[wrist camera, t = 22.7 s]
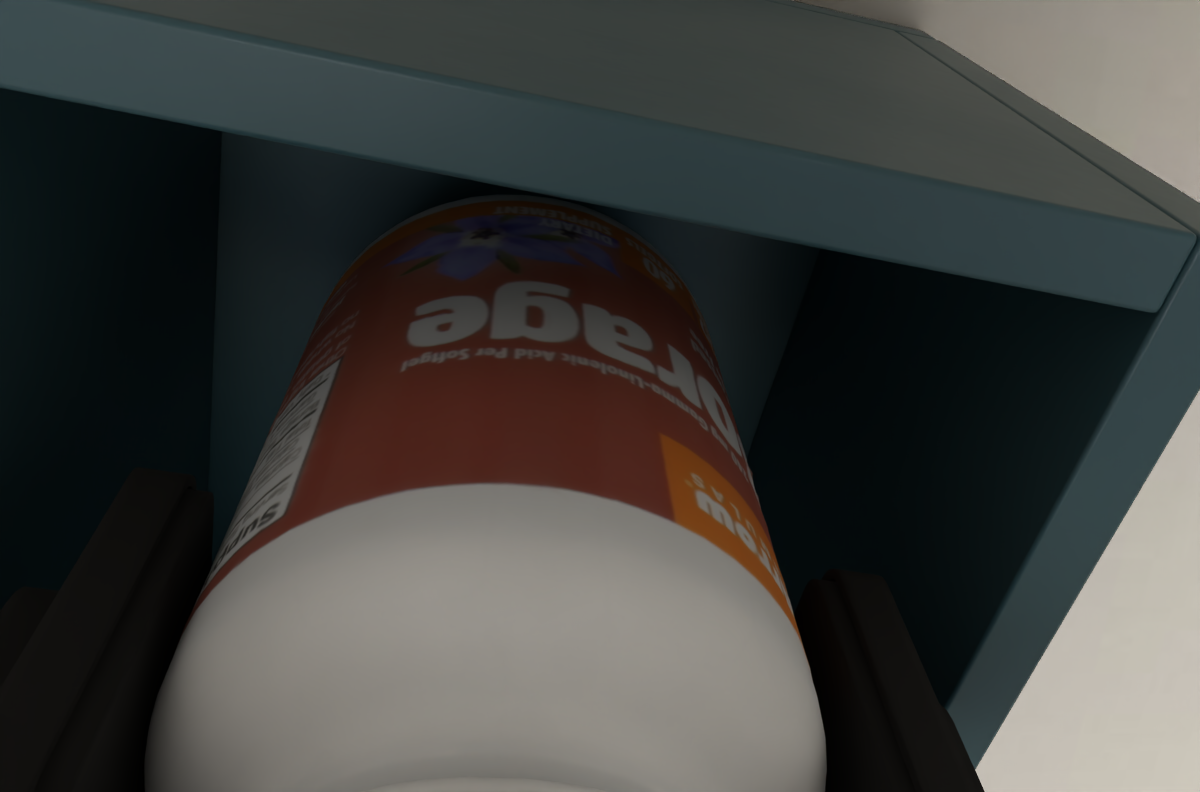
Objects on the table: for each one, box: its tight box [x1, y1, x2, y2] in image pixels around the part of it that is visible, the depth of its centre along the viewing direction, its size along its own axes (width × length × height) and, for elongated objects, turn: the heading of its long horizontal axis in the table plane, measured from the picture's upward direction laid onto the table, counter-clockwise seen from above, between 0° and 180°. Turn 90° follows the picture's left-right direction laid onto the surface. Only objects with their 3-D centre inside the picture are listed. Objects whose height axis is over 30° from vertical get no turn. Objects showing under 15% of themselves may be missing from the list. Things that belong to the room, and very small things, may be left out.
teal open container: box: [0, 0, 1200, 769], centre depth 16 cm, size 15×12×10 cm
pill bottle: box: [144, 195, 827, 792], centre depth 11 cm, size 6×6×11 cm
